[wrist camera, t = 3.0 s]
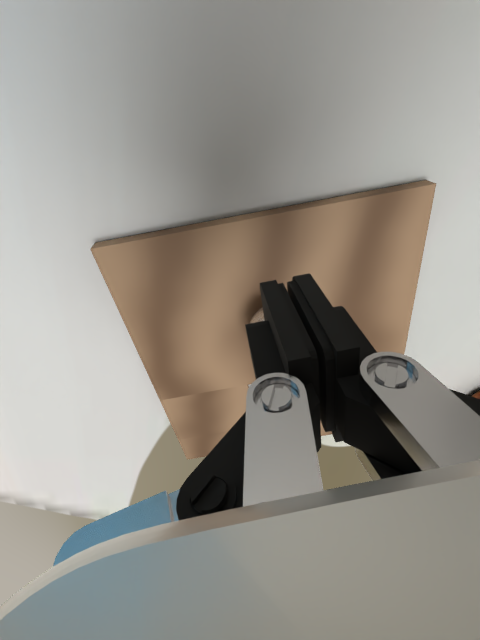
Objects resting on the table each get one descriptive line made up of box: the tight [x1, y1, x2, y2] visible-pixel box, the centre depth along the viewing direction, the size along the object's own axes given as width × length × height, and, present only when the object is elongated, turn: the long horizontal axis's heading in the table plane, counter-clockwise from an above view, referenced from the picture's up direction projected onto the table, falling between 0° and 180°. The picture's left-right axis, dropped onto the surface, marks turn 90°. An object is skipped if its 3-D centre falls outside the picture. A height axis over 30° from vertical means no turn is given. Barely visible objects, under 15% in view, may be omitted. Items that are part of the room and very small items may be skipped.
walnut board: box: [91, 180, 436, 459], centre depth 25 cm, size 20×22×1 cm
